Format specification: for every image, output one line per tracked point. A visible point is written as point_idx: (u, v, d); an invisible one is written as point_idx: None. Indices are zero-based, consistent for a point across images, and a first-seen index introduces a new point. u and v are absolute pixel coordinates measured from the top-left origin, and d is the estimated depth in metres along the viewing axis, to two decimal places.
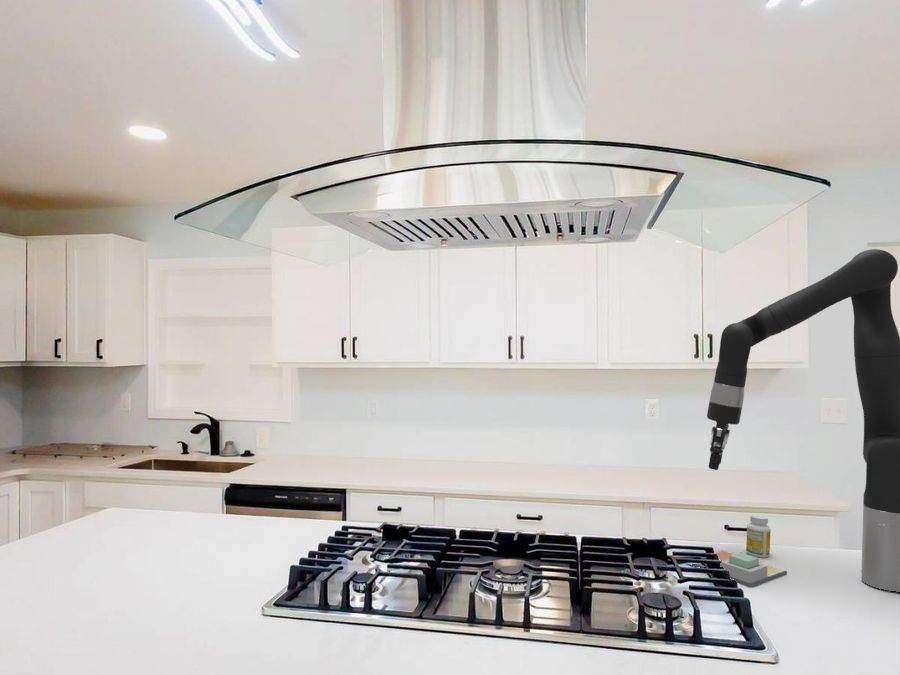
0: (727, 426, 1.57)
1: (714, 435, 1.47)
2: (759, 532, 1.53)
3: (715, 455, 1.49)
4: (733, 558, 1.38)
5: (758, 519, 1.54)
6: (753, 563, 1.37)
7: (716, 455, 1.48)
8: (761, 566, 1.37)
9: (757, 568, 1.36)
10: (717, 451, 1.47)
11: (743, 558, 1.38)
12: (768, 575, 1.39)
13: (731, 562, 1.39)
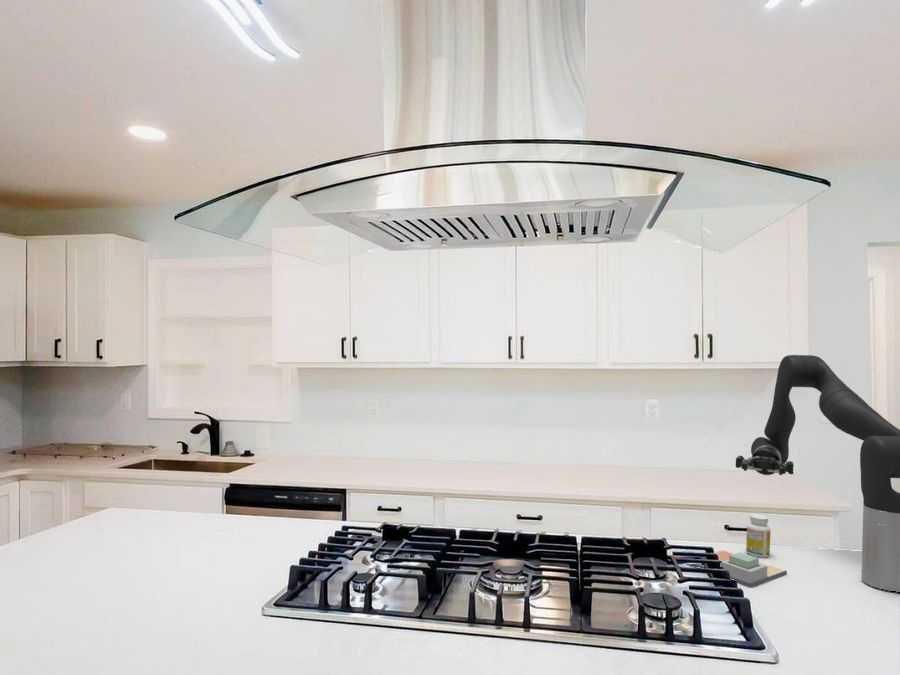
0: None
1: None
2: (759, 532, 1.53)
3: None
4: (733, 558, 1.38)
5: (758, 519, 1.54)
6: (753, 563, 1.37)
7: (742, 463, 1.71)
8: (761, 566, 1.37)
9: (757, 568, 1.36)
10: None
11: (743, 558, 1.38)
12: (768, 575, 1.39)
13: (731, 562, 1.39)
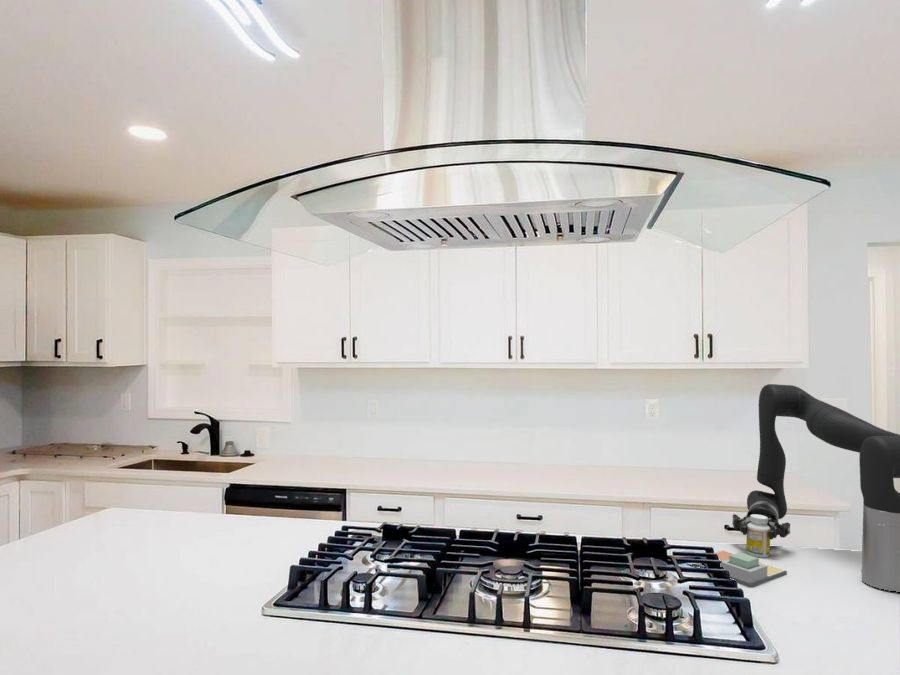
0: (785, 523, 1.59)
1: None
2: (759, 532, 1.53)
3: (741, 526, 1.58)
4: (733, 558, 1.38)
5: (758, 519, 1.54)
6: (753, 563, 1.37)
7: (741, 525, 1.58)
8: (761, 566, 1.37)
9: (757, 568, 1.36)
10: (734, 522, 1.60)
11: (743, 558, 1.38)
12: (768, 575, 1.39)
13: (731, 562, 1.39)
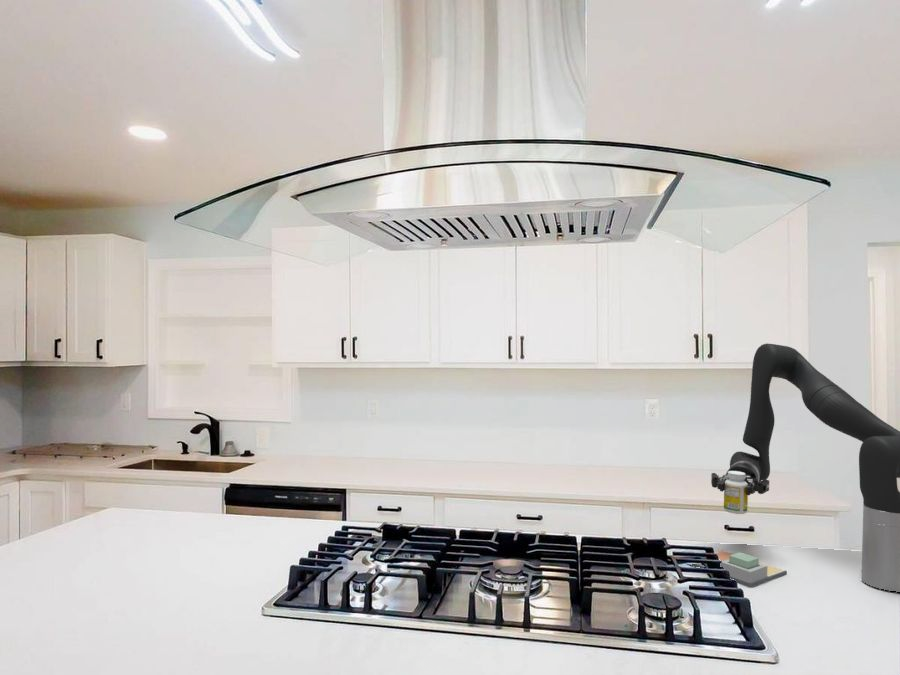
0: (764, 480, 1.55)
1: (711, 482, 1.60)
2: (735, 488, 1.49)
3: None
4: (733, 558, 1.38)
5: (735, 475, 1.50)
6: (753, 563, 1.37)
7: None
8: (761, 566, 1.37)
9: (757, 568, 1.36)
10: (712, 480, 1.56)
11: (743, 558, 1.38)
12: (768, 575, 1.39)
13: (731, 562, 1.39)
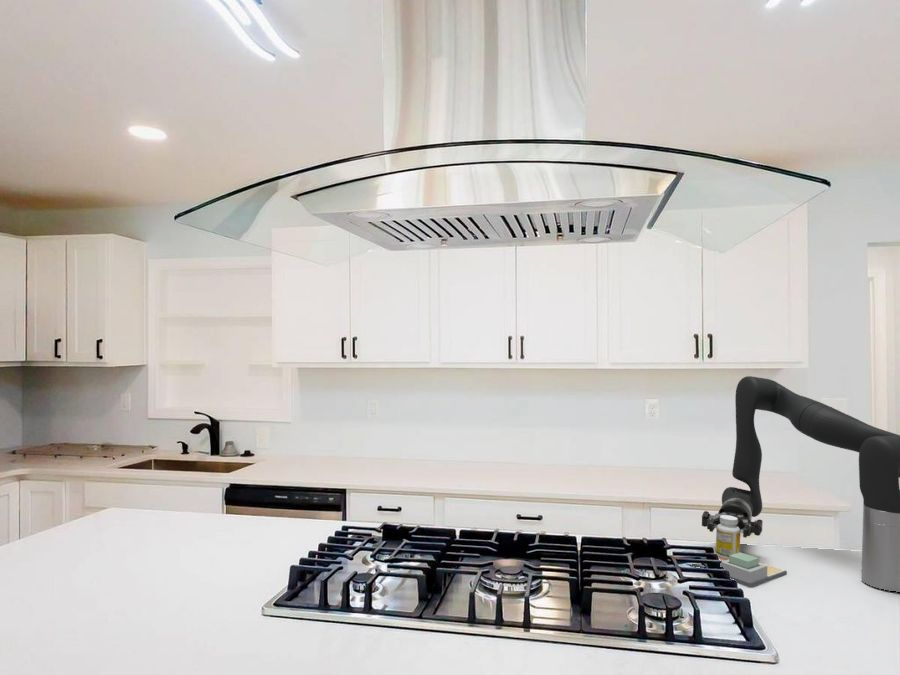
0: (757, 520, 1.54)
1: None
2: (728, 533, 1.48)
3: None
4: (733, 558, 1.38)
5: (727, 520, 1.48)
6: (753, 563, 1.37)
7: None
8: (761, 566, 1.37)
9: (757, 568, 1.36)
10: (702, 519, 1.56)
11: (743, 558, 1.38)
12: (768, 575, 1.39)
13: (731, 562, 1.39)
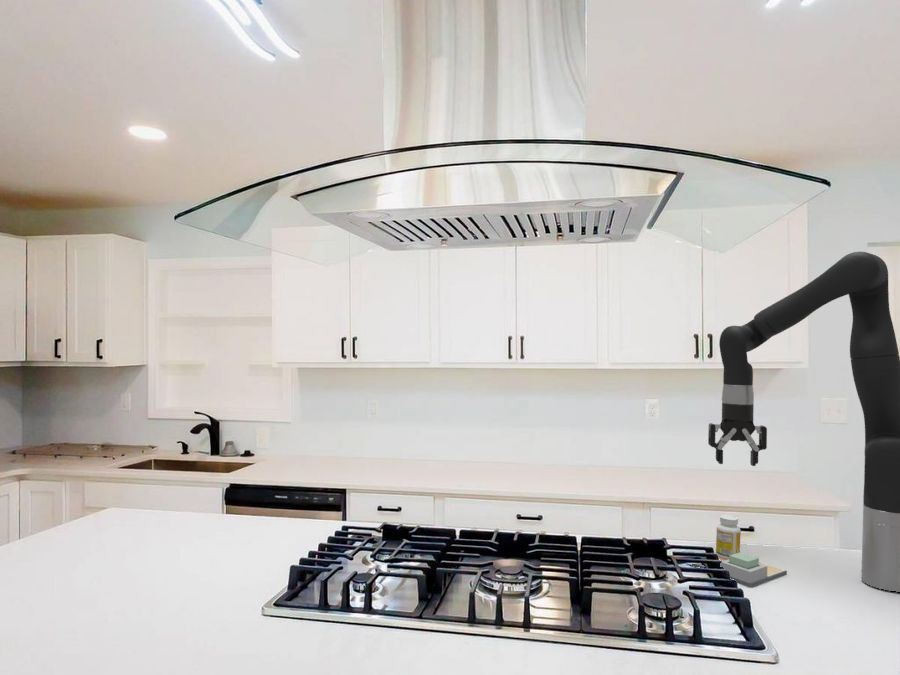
0: (761, 428, 1.59)
1: None
2: (728, 533, 1.48)
3: (716, 449, 1.62)
4: (733, 558, 1.38)
5: (728, 520, 1.48)
6: (753, 563, 1.37)
7: (716, 449, 1.62)
8: (761, 566, 1.37)
9: (757, 568, 1.36)
10: (709, 444, 1.62)
11: (743, 558, 1.38)
12: (768, 575, 1.39)
13: (731, 562, 1.39)
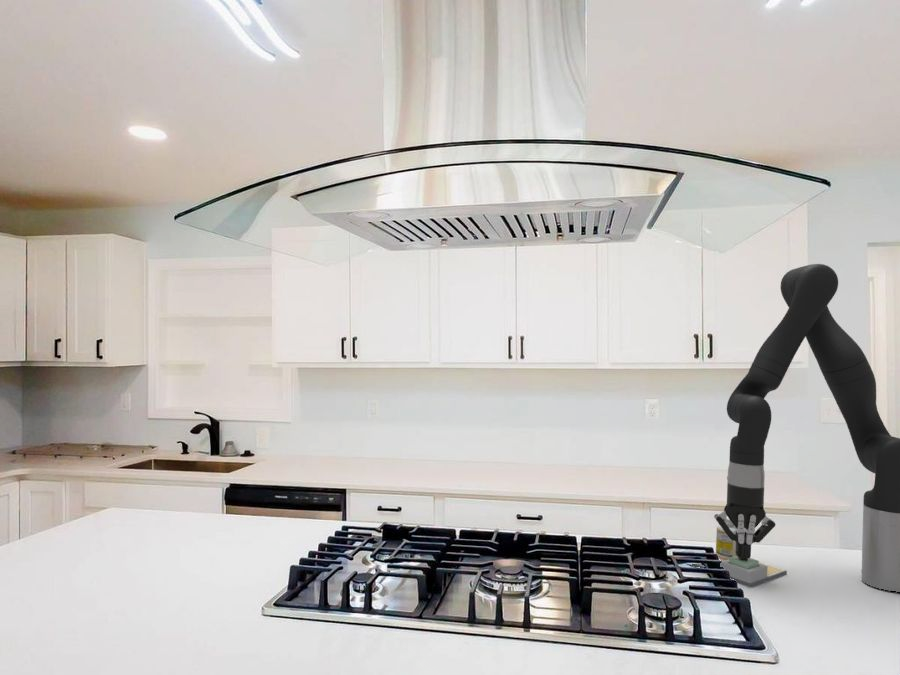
0: (770, 522, 1.37)
1: None
2: None
3: (736, 543, 1.39)
4: (733, 561, 1.38)
5: (728, 520, 1.48)
6: (753, 566, 1.37)
7: (736, 543, 1.39)
8: (761, 566, 1.37)
9: (757, 568, 1.36)
10: (729, 536, 1.39)
11: (743, 561, 1.38)
12: (768, 575, 1.39)
13: None
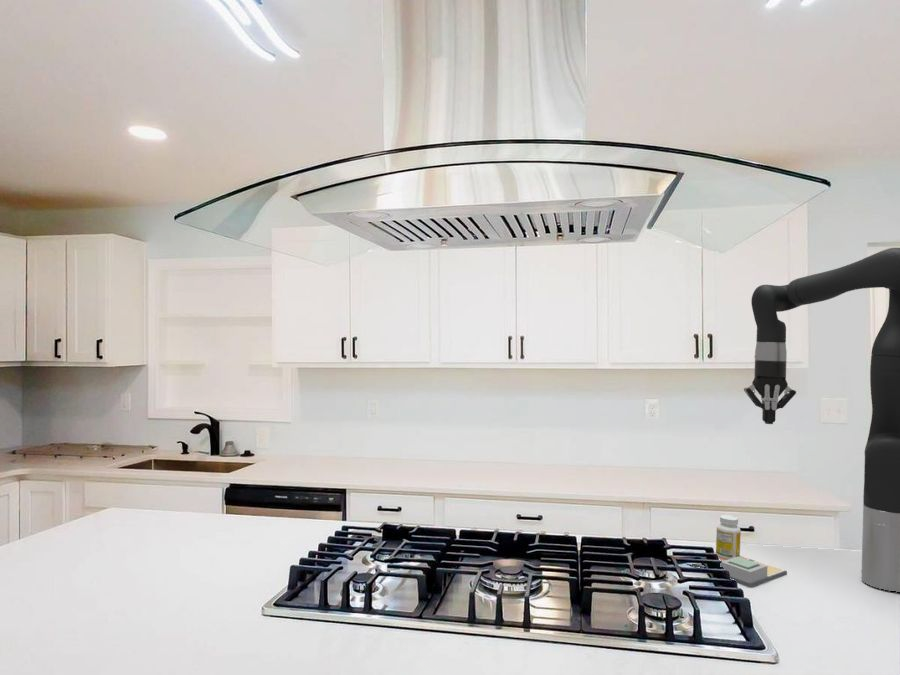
0: (791, 390, 1.63)
1: None
2: (728, 533, 1.48)
3: (763, 410, 1.65)
4: (733, 564, 1.38)
5: (728, 520, 1.48)
6: None
7: (763, 410, 1.65)
8: (761, 566, 1.37)
9: (757, 568, 1.36)
10: (757, 405, 1.65)
11: (743, 564, 1.38)
12: (768, 575, 1.39)
13: None
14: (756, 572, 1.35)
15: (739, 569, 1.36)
